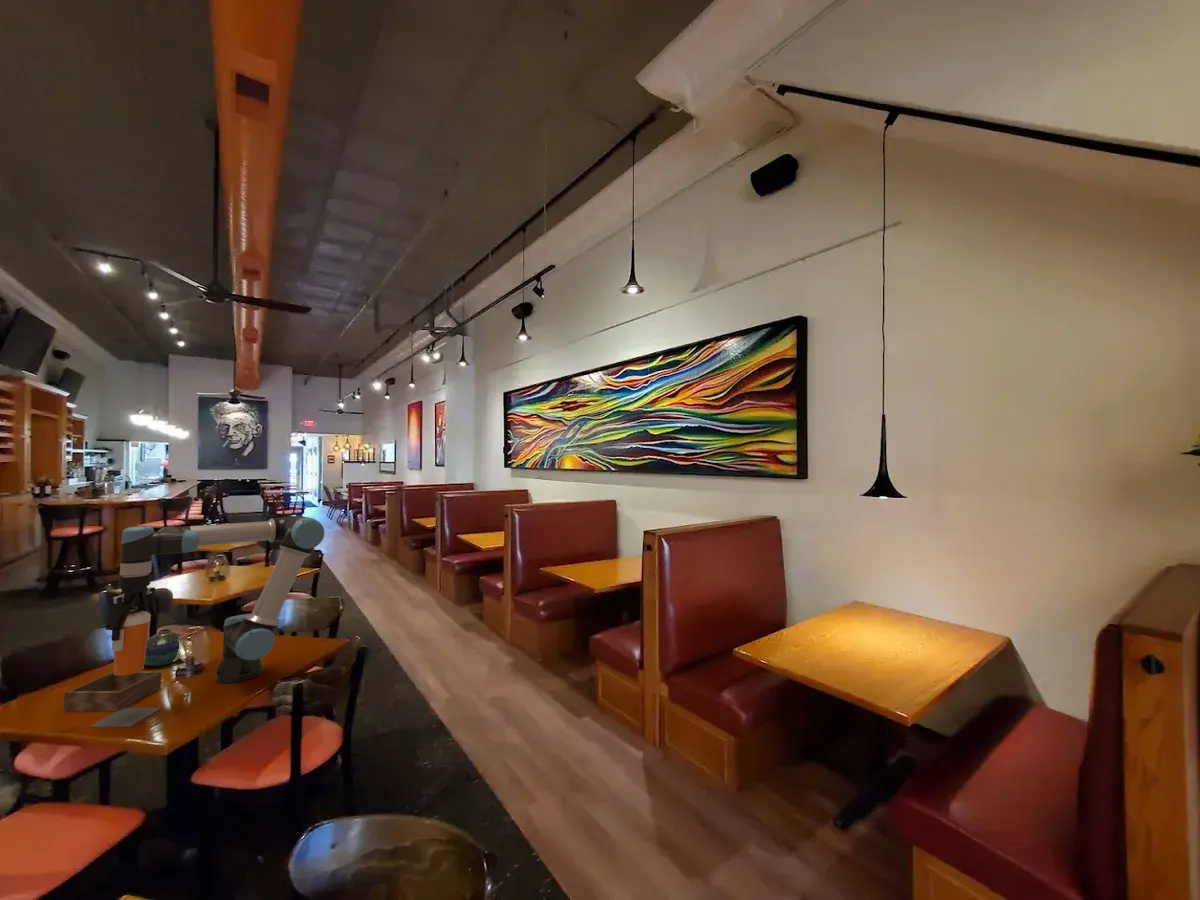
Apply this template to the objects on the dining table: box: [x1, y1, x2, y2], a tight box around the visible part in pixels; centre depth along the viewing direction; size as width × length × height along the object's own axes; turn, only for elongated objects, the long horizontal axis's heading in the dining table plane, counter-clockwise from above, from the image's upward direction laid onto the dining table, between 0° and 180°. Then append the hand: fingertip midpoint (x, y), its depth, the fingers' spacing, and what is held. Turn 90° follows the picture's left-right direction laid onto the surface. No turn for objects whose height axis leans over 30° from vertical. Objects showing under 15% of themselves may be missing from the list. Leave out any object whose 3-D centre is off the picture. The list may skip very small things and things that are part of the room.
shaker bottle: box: [113, 606, 152, 676], centre depth 160 cm, size 9×9×20 cm
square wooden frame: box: [63, 671, 162, 712], centre depth 172 cm, size 17×17×6 cm
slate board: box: [88, 707, 163, 729], centre depth 160 cm, size 12×12×1 cm
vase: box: [144, 628, 182, 667], centre depth 203 cm, size 15×15×13 cm
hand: (130, 644), depth 160 cm, fingers closed on shaker bottle, 9 cm apart
